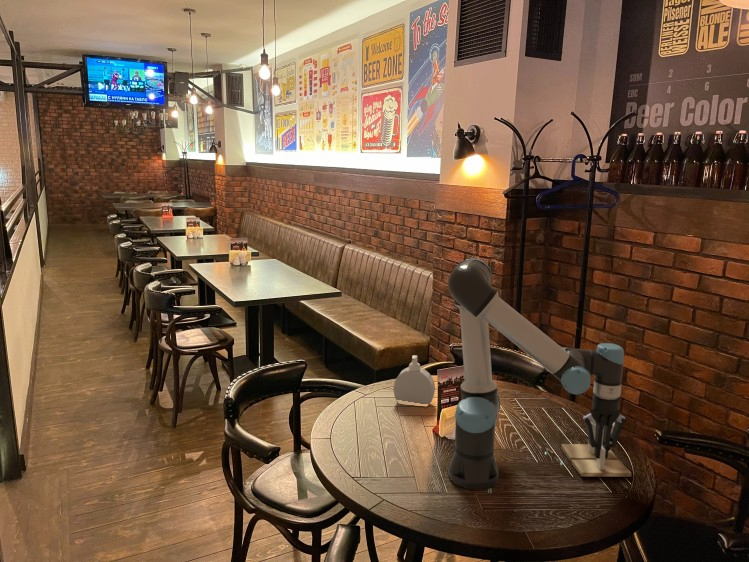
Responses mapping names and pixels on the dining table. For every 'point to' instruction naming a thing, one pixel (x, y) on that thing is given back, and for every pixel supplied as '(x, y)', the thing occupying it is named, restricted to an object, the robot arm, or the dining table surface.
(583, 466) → the plank
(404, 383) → the soap bottle
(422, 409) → the dining table surface
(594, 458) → the tan flat board
